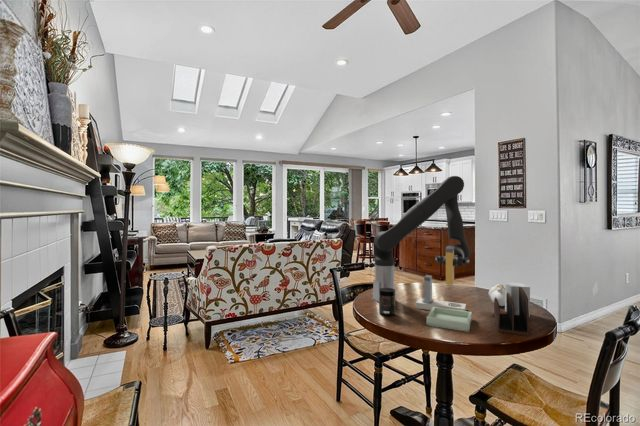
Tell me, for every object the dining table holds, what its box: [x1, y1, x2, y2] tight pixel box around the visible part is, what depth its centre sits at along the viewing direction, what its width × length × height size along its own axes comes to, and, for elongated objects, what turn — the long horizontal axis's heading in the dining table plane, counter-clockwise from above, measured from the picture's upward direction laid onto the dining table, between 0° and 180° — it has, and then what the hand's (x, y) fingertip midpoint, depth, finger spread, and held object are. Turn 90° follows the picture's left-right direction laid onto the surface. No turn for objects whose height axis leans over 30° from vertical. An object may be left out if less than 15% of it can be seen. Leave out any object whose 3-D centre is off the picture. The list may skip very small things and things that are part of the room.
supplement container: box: [378, 288, 396, 317], centre depth 142 cm, size 7×7×10 cm
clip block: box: [415, 297, 467, 311], centre depth 149 cm, size 20×8×3 cm, turn 62°
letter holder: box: [493, 287, 530, 336], centre depth 129 cm, size 10×20×14 cm, turn 156°
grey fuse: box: [423, 274, 433, 304], centre depth 151 cm, size 2×5×14 cm, turn 152°
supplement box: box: [504, 282, 531, 318], centre depth 141 cm, size 7×7×13 cm
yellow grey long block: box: [445, 245, 455, 285], centre depth 131 cm, size 2×5×14 cm, turn 152°
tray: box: [426, 307, 473, 333], centre depth 132 cm, size 15×15×3 cm
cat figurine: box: [488, 283, 505, 307], centre depth 156 cm, size 10×8×15 cm
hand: (449, 263), depth 129 cm, fingers closed on yellow grey long block, 2 cm apart
